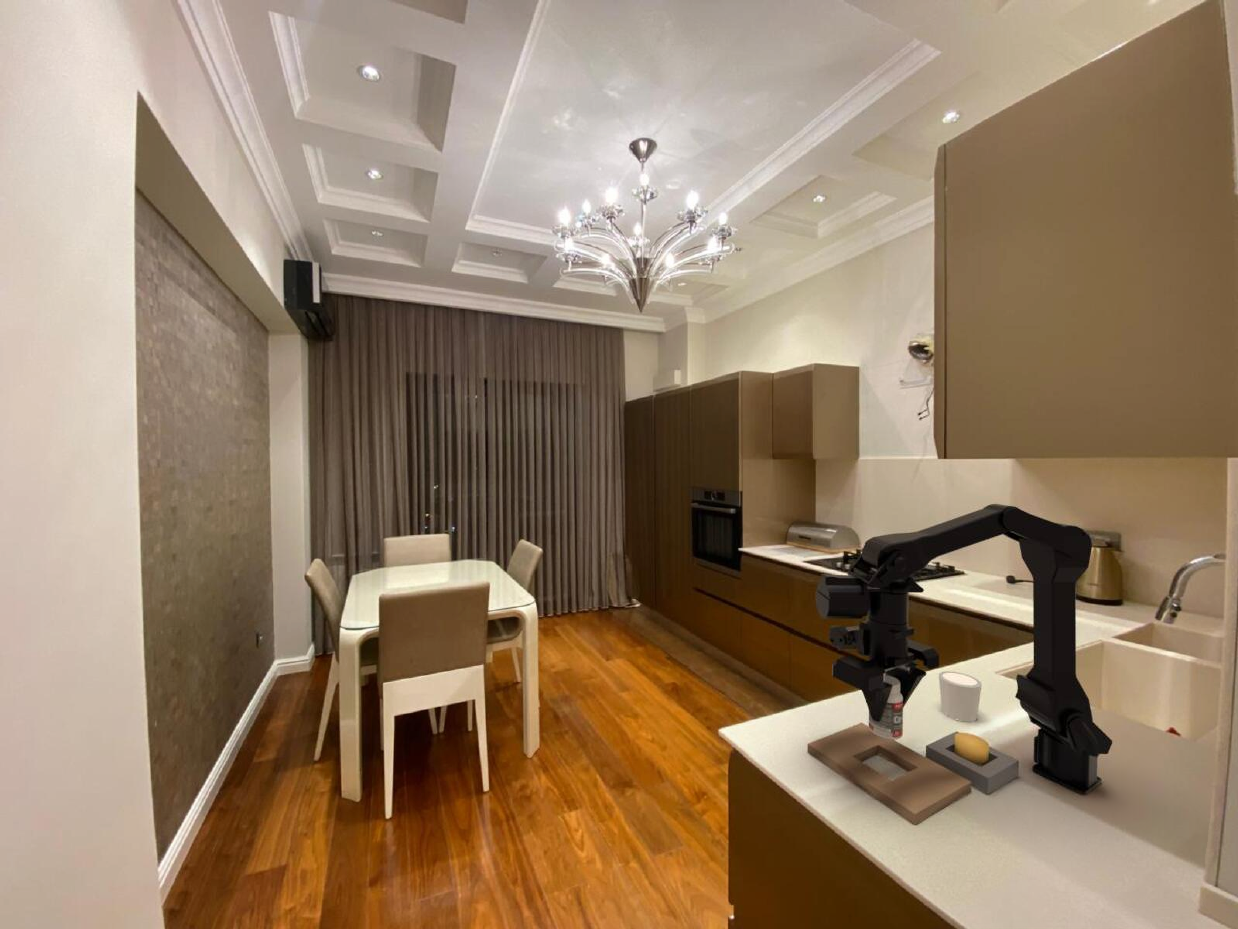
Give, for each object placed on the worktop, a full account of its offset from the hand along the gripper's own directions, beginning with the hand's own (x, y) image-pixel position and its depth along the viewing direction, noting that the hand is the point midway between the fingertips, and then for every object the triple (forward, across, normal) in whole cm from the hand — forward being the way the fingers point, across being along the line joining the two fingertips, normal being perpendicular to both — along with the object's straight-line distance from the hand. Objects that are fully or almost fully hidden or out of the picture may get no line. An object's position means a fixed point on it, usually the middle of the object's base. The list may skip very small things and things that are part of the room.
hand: (886, 716), depth 77 cm
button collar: (+9, -13, +6) cm, 17 cm away
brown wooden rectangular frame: (+9, 0, 0) cm, 9 cm away
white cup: (+9, -29, -4) cm, 30 cm away
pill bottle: (+3, 0, 0) cm, 3 cm away
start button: (+7, -13, +6) cm, 16 cm away
